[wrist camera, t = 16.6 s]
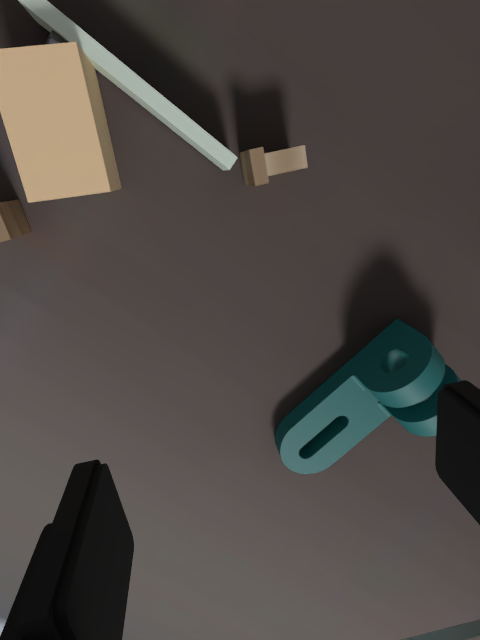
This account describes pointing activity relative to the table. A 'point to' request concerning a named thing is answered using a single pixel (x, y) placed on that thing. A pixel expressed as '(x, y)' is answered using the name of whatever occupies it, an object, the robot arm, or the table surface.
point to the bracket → (366, 399)
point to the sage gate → (128, 81)
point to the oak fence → (11, 221)
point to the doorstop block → (56, 122)
